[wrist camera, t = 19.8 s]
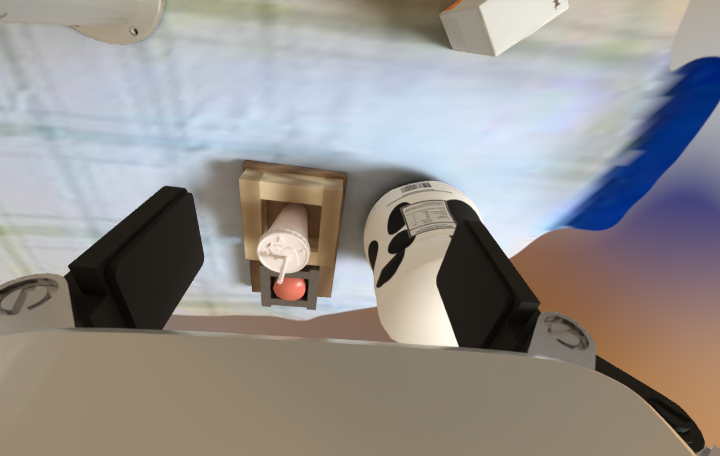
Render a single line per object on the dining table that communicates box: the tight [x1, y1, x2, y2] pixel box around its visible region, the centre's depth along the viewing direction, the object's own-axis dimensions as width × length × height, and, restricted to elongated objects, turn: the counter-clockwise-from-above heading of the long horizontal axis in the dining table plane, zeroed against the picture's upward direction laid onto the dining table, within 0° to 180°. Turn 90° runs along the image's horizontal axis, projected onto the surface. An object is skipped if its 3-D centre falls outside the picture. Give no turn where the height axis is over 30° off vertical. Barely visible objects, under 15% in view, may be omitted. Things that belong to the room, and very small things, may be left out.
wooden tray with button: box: [239, 160, 347, 310], centre depth 45 cm, size 14×24×5 cm, turn 171°
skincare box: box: [439, 0, 569, 56], centre depth 27 cm, size 6×4×12 cm
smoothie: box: [257, 203, 310, 284], centre depth 37 cm, size 6×6×14 cm
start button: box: [273, 277, 307, 300], centre depth 48 cm, size 5×5×3 cm
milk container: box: [363, 180, 484, 347], centre depth 39 cm, size 17×17×18 cm
